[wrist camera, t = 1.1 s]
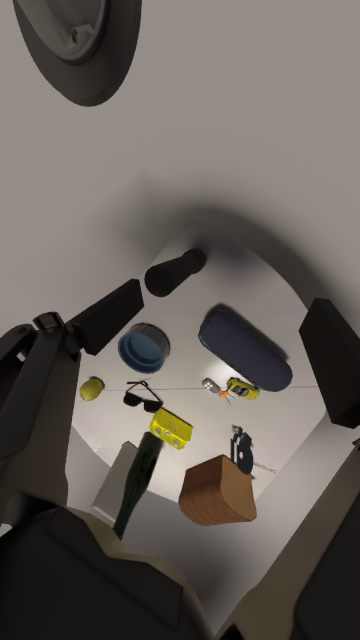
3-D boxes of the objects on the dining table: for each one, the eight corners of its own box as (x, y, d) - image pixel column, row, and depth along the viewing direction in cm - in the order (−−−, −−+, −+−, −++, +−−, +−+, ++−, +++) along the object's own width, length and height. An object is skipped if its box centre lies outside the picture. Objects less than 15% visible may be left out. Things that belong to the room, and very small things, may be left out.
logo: (259, 428, 54) (252, 468, 47) (277, 456, 60) (273, 496, 53) (215, 416, 66) (204, 447, 59) (233, 441, 72) (225, 471, 64)
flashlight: (201, 245, 38) (182, 253, 40) (167, 251, 17) (131, 269, 19) (209, 265, 39) (190, 273, 41) (186, 295, 19) (150, 307, 20)
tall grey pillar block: (123, 443, 92) (90, 506, 70) (128, 440, 89) (96, 505, 67) (140, 457, 94) (114, 523, 72) (147, 456, 91) (121, 523, 69)
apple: (107, 385, 70) (88, 407, 63) (104, 387, 76) (86, 408, 69) (93, 373, 69) (72, 394, 62) (91, 376, 75) (71, 396, 68)
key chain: (200, 382, 56) (200, 385, 55) (207, 376, 54) (207, 380, 53) (229, 404, 57) (229, 407, 56) (237, 399, 55) (237, 403, 54)
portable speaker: (195, 324, 47) (187, 343, 39) (218, 299, 42) (215, 314, 34) (260, 375, 49) (267, 405, 40) (290, 357, 44) (305, 386, 35)
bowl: (137, 314, 51) (127, 323, 46) (178, 341, 51) (172, 353, 46) (122, 345, 59) (112, 355, 54) (157, 368, 59) (150, 381, 54)
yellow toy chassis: (155, 411, 71) (146, 431, 63) (160, 405, 68) (152, 425, 61) (186, 430, 71) (181, 452, 63) (193, 425, 68) (189, 447, 61)
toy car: (252, 398, 53) (254, 406, 51) (224, 384, 54) (224, 392, 51) (261, 389, 51) (263, 397, 48) (231, 375, 51) (232, 382, 49)
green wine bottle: (164, 447, 82) (128, 559, 53) (145, 441, 84) (101, 545, 56) (162, 435, 77) (123, 549, 49) (142, 429, 80) (94, 535, 51)
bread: (183, 468, 86) (174, 512, 72) (220, 452, 71) (218, 504, 57) (211, 487, 86) (207, 534, 72) (253, 475, 71) (259, 532, 57)
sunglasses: (164, 380, 61) (159, 391, 56) (163, 405, 67) (158, 416, 63) (124, 369, 64) (116, 378, 60) (126, 394, 71) (120, 404, 66)
